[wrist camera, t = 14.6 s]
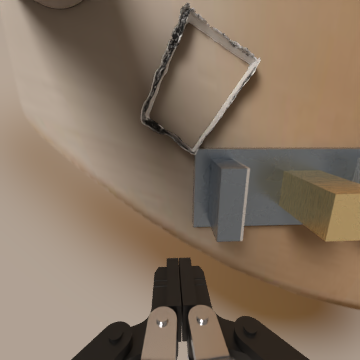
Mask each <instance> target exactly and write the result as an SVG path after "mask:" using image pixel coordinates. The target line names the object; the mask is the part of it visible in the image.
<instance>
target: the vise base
mask: <svg viewBox="0 0 360 360" xmlns="http://www.w3.org/2000/svg"><path fill="white" fill-rule="evenodd" d="M211 159H235V160H237V161H239V162H240V163H242V164H244V165H245V166H247V167H249V168H250V175H249V184H248V194H247V204H246V213H245V223H244V226H258V225H300V224H302V223H301V222H300V221H298V220H297V219H296V218H294V217H293V216H292V215H291V214H289V213H288V212H287V211H285V210H284V209H283V208H282V207H280V206H279V201H280V194H281V187H282V180H283V173H284V171H304V170H320V171H323V172H326V173H329V174H332V175H335V176H338V177H341V178H344V179H347V180H350V181H353V182H356V183H359V184H360V148H199V149H198V151H197V153H196V154H195V155H194V186H193V227H211V226H210V223H209V221H208V210H209V189H210V169H211Z"/></svg>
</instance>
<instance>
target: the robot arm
mask: <svg viewBox="0 0 360 360" xmlns="http://www.w3.org/2000/svg"><path fill="white" fill-rule="evenodd" d="M34 1H36V2H38V3H40V4H42V5H44V6H47V7H51V8H59V9H64V8H69V7H72V6H74V5H76V4H78V3H80V2H81V1H82V0H34ZM181 326H182V341H187V348H188V356H187V358H188V360H309V359H308V358H307V357H305V356H304V355H302V354H301V353H300V352H299V351H297V350H296V349H294V348H293V347H292V346H290V345H289V344H288V343H287V342H285V341H284V340H283V339H281V338H280V337H279V336H277V335H276V334H275V333H273V332H272V331H271V330H269V329H268V328H267V327H265V326H264V325H263V324H261V323H260V322H259V321H258V320H256V319H254V318H252V317H249V316H242V317H240V318H238V319H237V320H236V322H233V321H229V320H225V319H223V318H221V317H219V316H218V315H217V314H216V313H215V312H214V311H213V309H212V306H211V302H210V298H209V293H208V289H207V285H206V280H205V276H204V272H203V271H202V269H201V268H200V267H199V266H191V260H190V258H179V265H178V258H168V259H167V267H159V268H158V269H157V270H156V272H155V275H154V287H153V299H152V309H151V313H150V315H149V316H148V318H147V319H146V320H145V321H143V322H142V323H140V324H138V325H135V326H132V327H130V326H129V325H128V324H127V323H125V322H115V323H112V324H110V325H109V326H107V327H106V328H105V329H104V330H103V331H102V332H101V333H100V334H99V335H98V336H96V337H95V338H94V339H93V340H92V341H91V342H90V343H89V344H88V345H87V346H86V347H85V348H83V349H82V350H81V351H80V352H79V353H78V354H77V355H76V356H75V357H74V358H73V359H72V360H177V356H178V342H181Z"/></svg>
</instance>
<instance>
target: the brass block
mask: <svg viewBox="0 0 360 360" xmlns="http://www.w3.org/2000/svg"><path fill="white" fill-rule="evenodd" d="M279 206H280V207H282V208H283V209H284V210H285V211H287V212H288V213H289V214H291V215H292V216H293V217H294V218H296V219H297V220H298V221H300V222H301V223H302V224H303V225H305V226H306V227H307V228H309V229H310V230H311V231H312V232H314V233H315V234H316V235H317V236H319V237H320V238H321V239H323V240H324V241H325V242H327V241H355V240H360V184H359V183H356V182H353V181H350V180H347V179H344V178H341V177H338V176H335V175H332V174H329V173H326V172H323V171H320V170H304V171H284V173H283V180H282V187H281V194H280V201H279Z"/></svg>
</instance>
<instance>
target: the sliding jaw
mask: <svg viewBox="0 0 360 360" xmlns="http://www.w3.org/2000/svg"><path fill="white" fill-rule="evenodd" d="M249 175H250V168H249V167H247V166H245V165H244V164H242V163H240V162H239V161H237V160H235V159H211V169H210V189H209V210H208V221H209V223H210V226H211V228H212V231H213V233H214V236H215V238H216V240H217V242H223V241H243V232H244V223H245V213H246V204H247V194H248V184H249Z"/></svg>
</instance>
